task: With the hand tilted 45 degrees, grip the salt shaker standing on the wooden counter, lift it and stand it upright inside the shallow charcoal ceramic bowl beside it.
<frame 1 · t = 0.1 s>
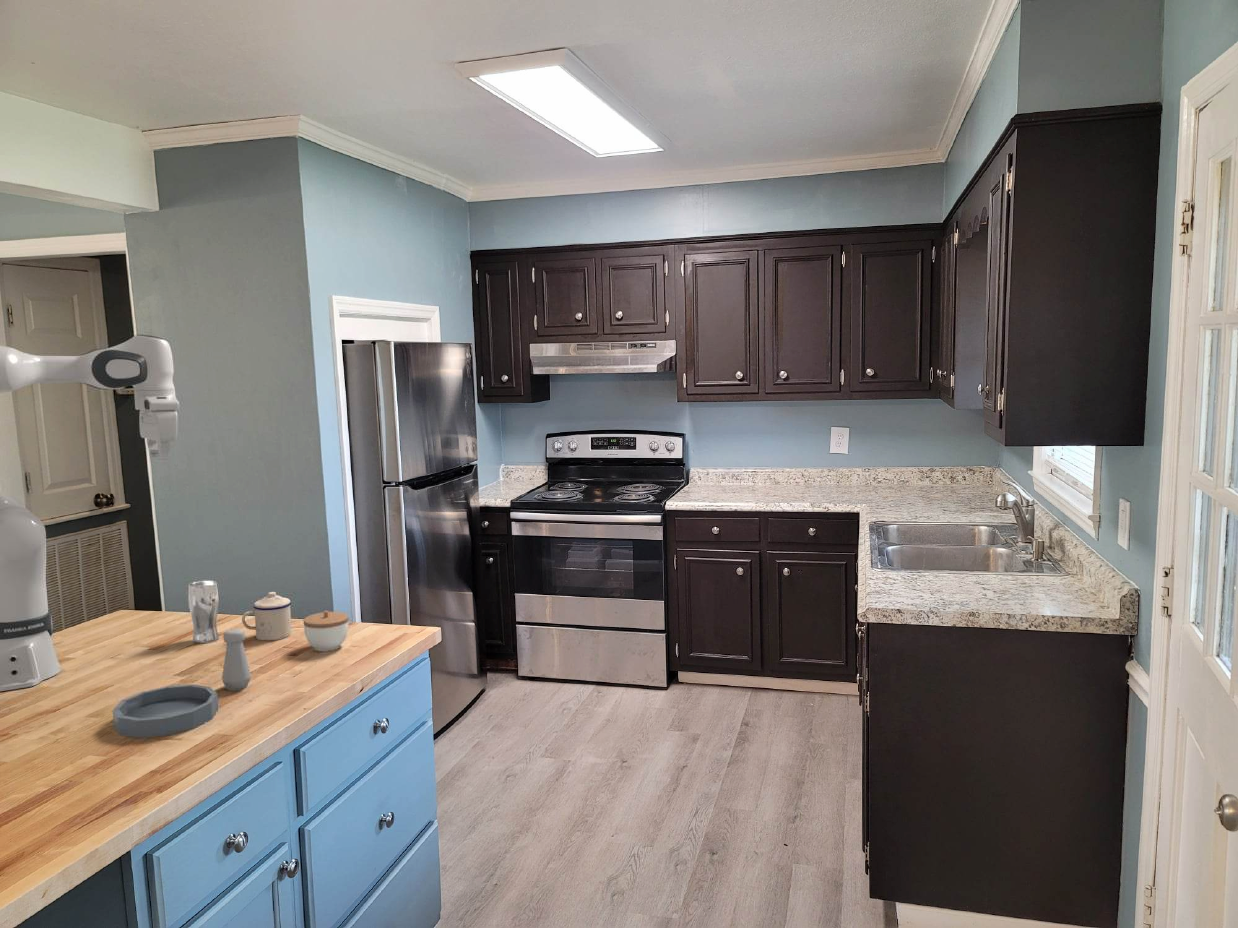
hand: (159, 458, 210), 48 cm above the worktop, tool pointing down, fingers open, 8 cm apart
salt shaker: (237, 688, 188), on the worktop
lidded jar: (327, 648, 215), on the worktop
teacup with lid: (268, 637, 224), on the worktop
beer glass: (205, 640, 221), on the worktop
bowl: (167, 718, 172), on the worktop
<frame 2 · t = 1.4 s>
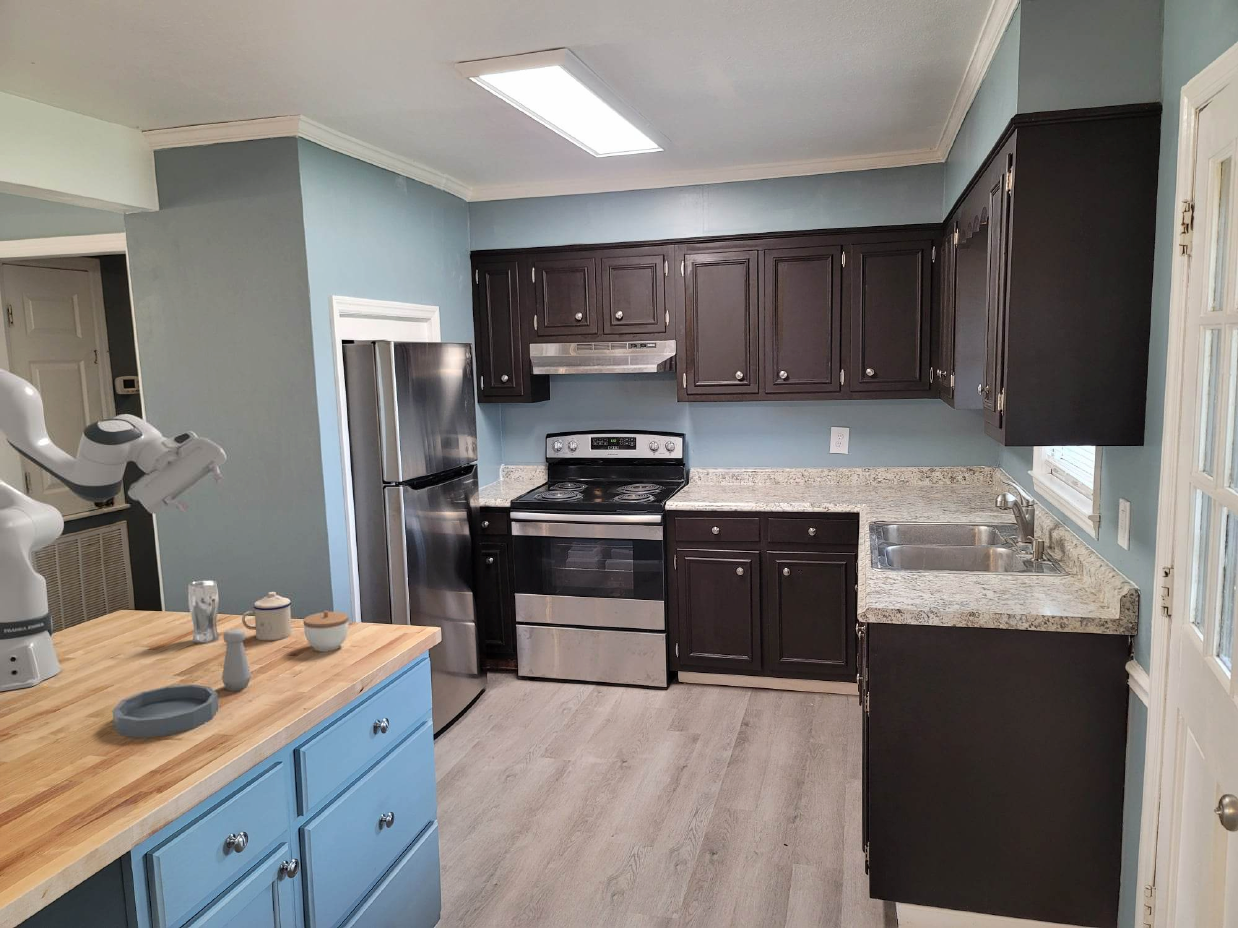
hand: (203, 493, 189), 42 cm above the worktop, tool tilted 60°, fingers open, 8 cm apart
nothing on the worktop moved.
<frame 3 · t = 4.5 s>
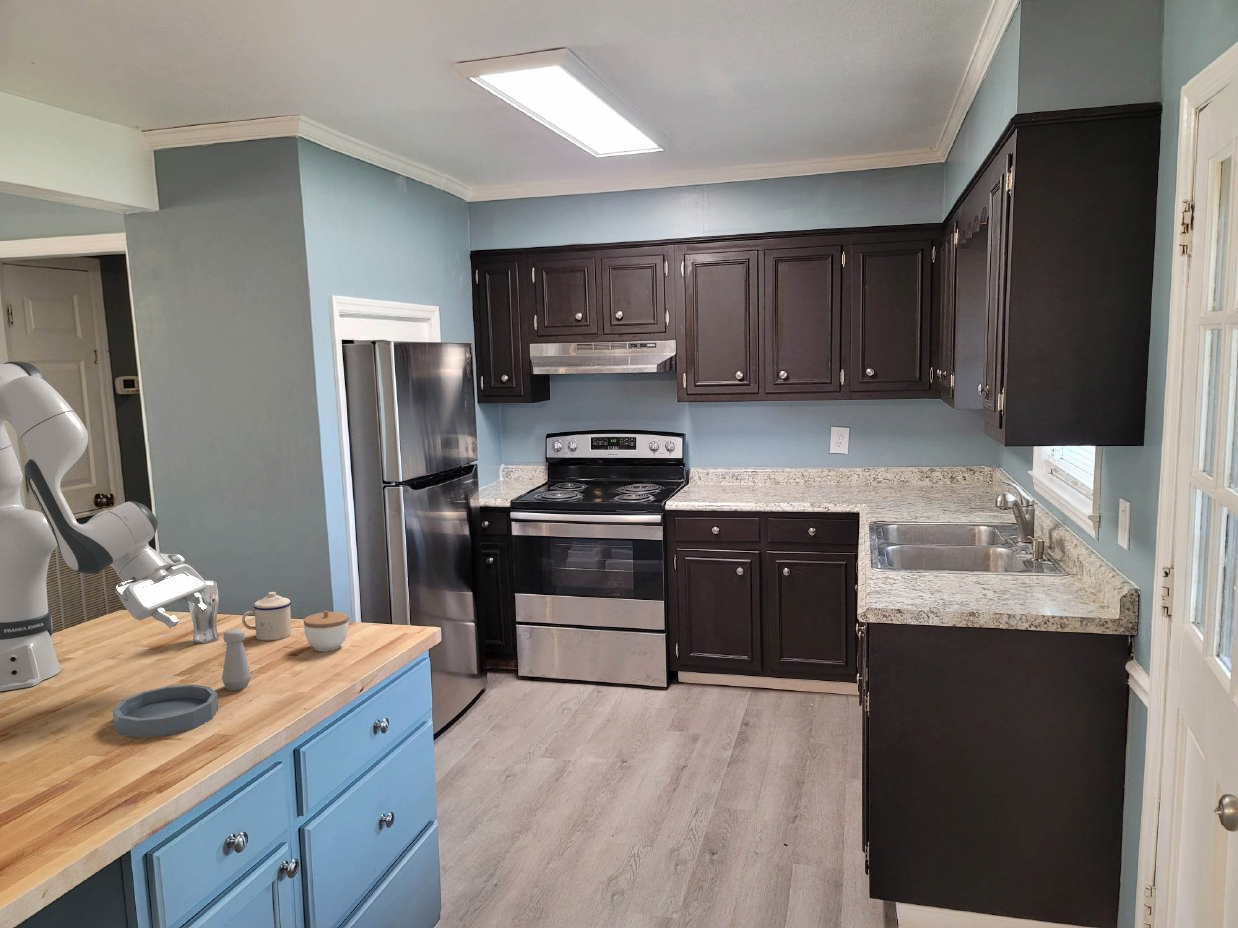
hand: (189, 618, 187), 16 cm above the worktop, tool tilted 45°, fingers open, 8 cm apart
nothing on the worktop moved.
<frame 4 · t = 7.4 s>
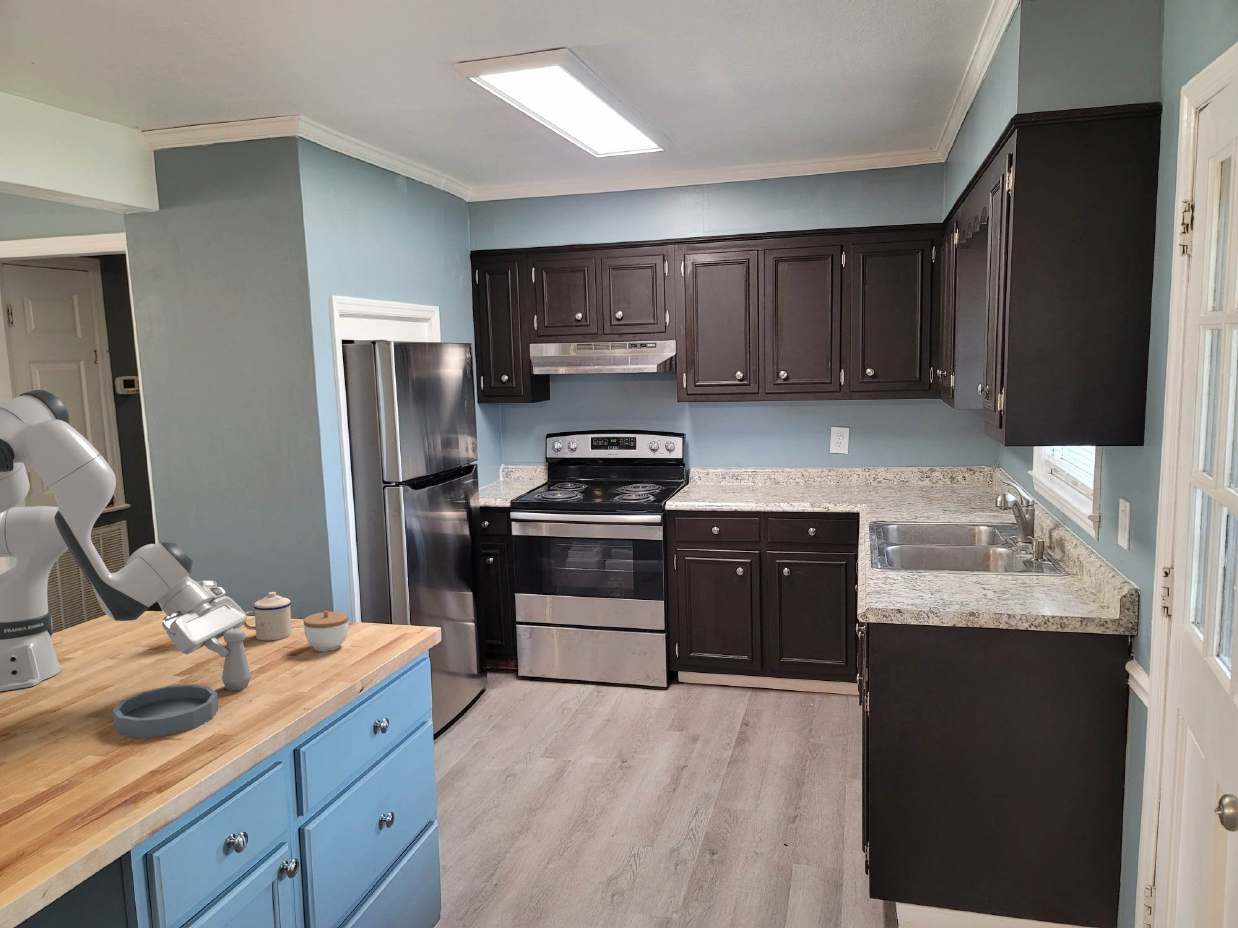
hand: (233, 651, 187), 8 cm above the worktop, tool tilted 45°, fingers closed on salt shaker, 3 cm apart
salt shaker: (237, 688, 188), on the worktop, touching gripper
everything else where it was.
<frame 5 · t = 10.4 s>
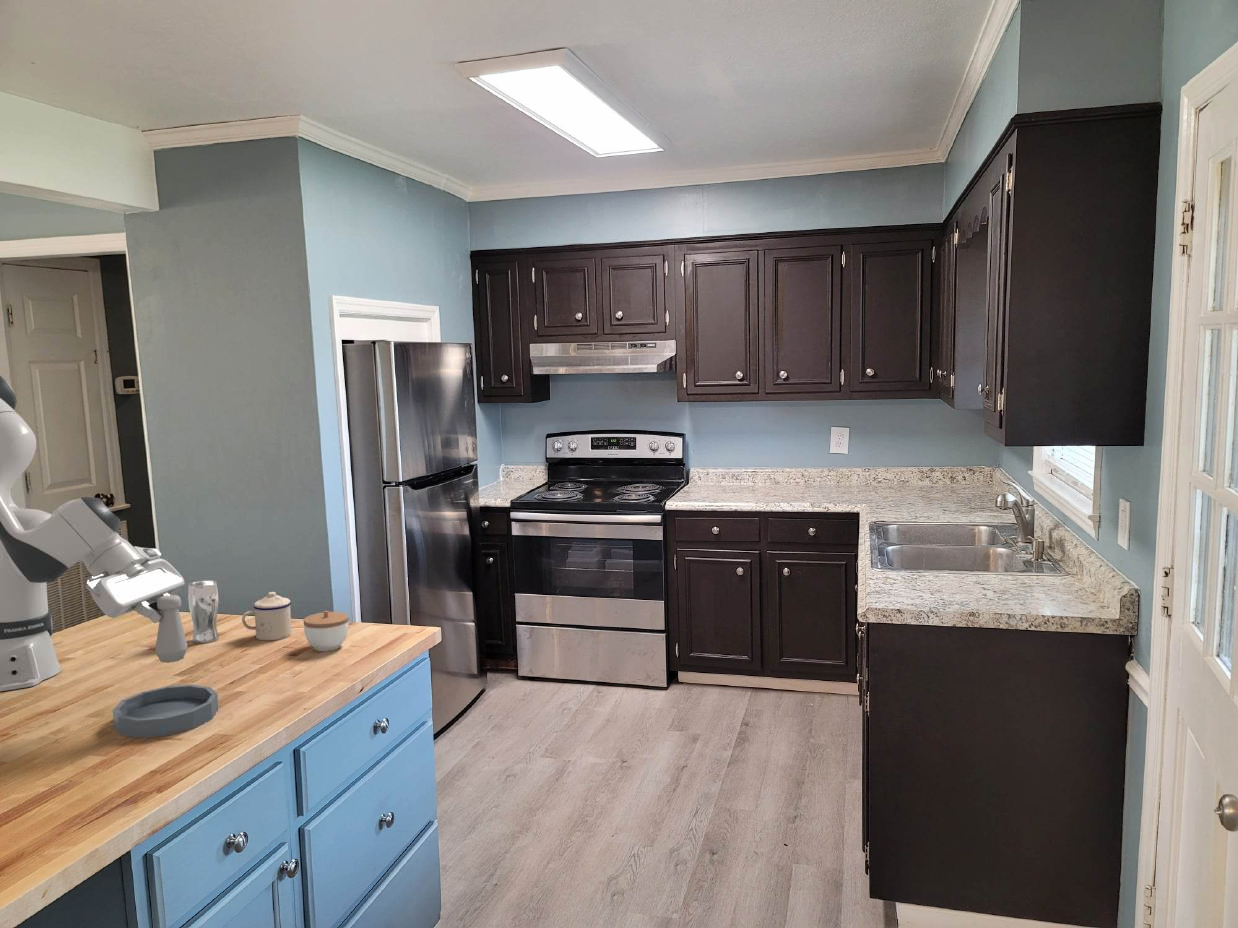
hand: (167, 617, 171), 20 cm above the worktop, tool tilted 45°, fingers closed on salt shaker, 3 cm apart
salt shaker: (172, 660, 172), point 12 cm above the worktop, touching gripper
everything else where it was.
when the fingers open (11 cm above the worktop, at t = 13.3 s): salt shaker moves 5 cm, resting on bowl.
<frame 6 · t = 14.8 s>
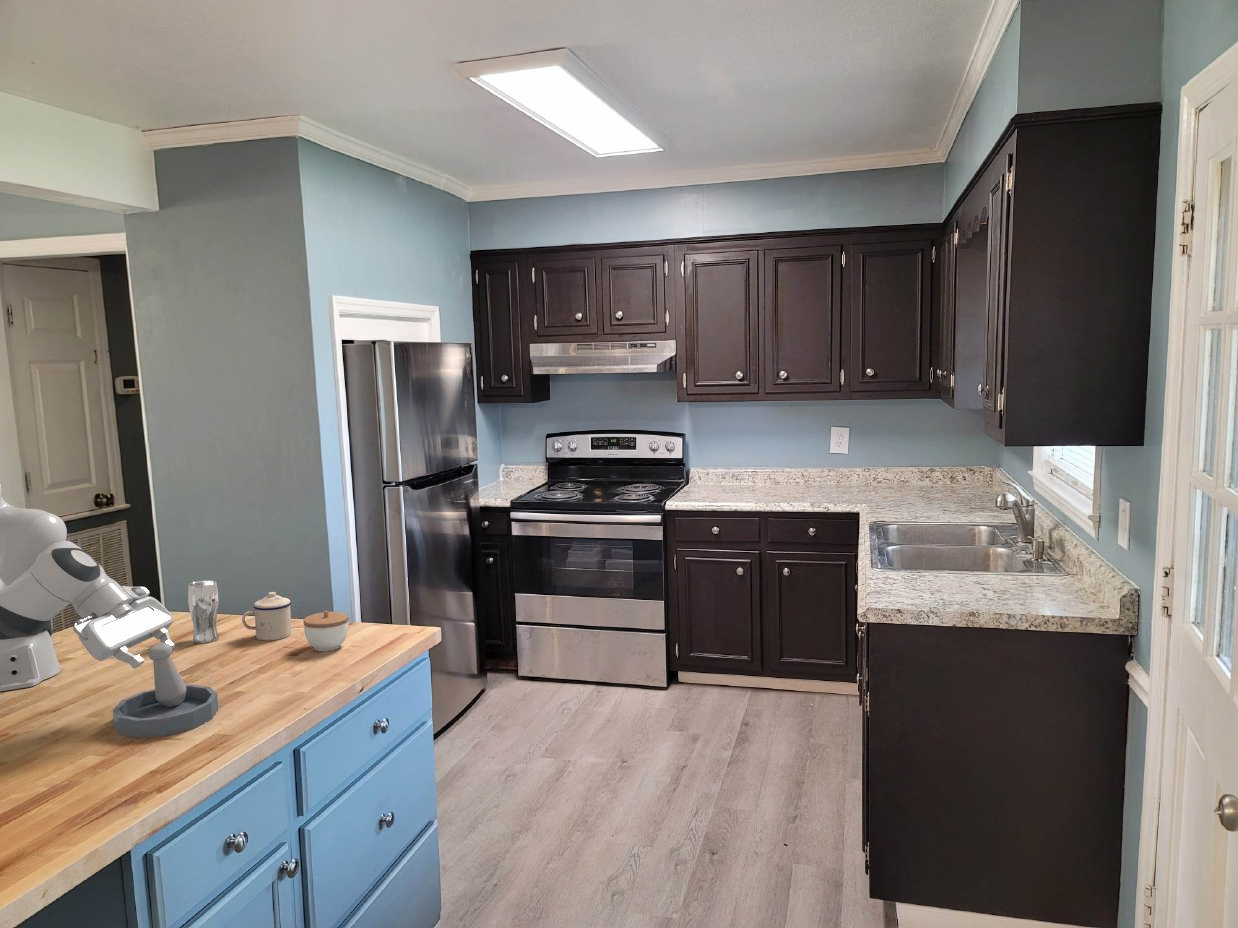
hand: (155, 657, 172), 12 cm above the worktop, tool tilted 45°, fingers open, 8 cm apart
salt shaker: (173, 702, 177), point 1 cm above the worktop, touching bowl
everything else where it was.
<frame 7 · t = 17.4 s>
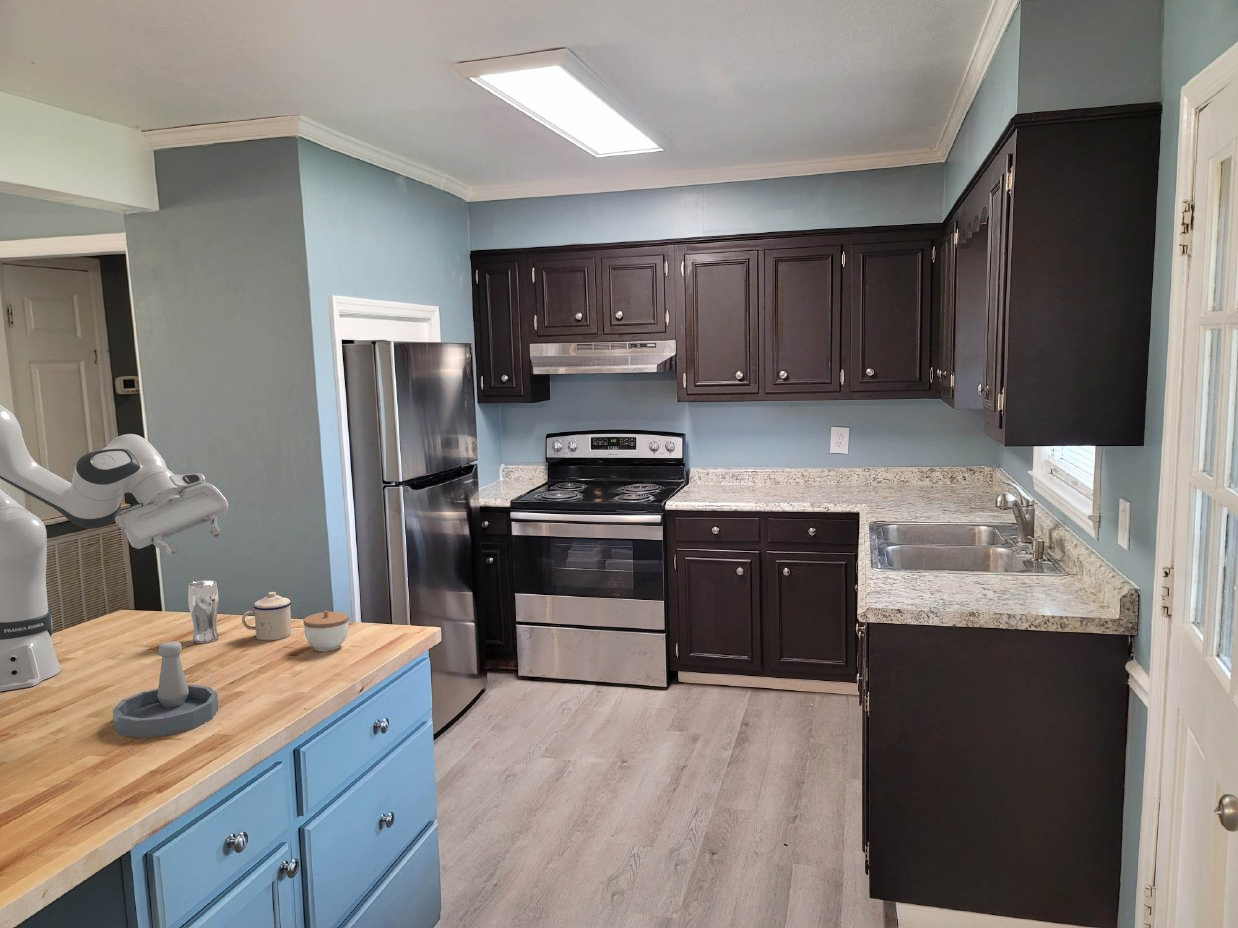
hand: (195, 543, 179), 34 cm above the worktop, tool tilted 45°, fingers open, 8 cm apart
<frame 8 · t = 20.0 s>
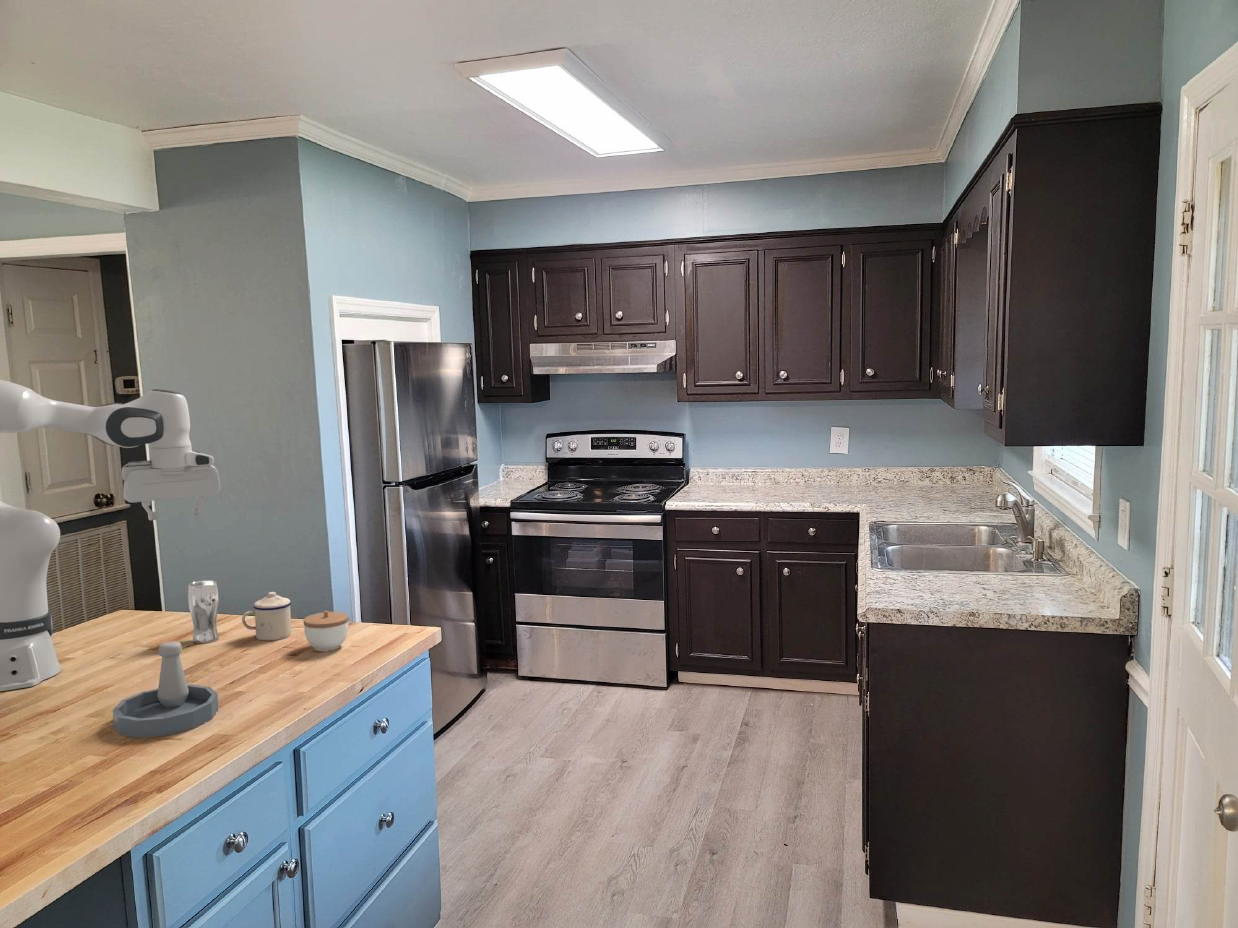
hand: (174, 517, 201), 35 cm above the worktop, tool pointing down, fingers open, 8 cm apart
at the end: salt shaker inside the target area on the bowl (5.0 cm from its centre), point 0.8 cm above the bowl's base; salt shaker tilted 0°; the gripper is holding nothing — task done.
